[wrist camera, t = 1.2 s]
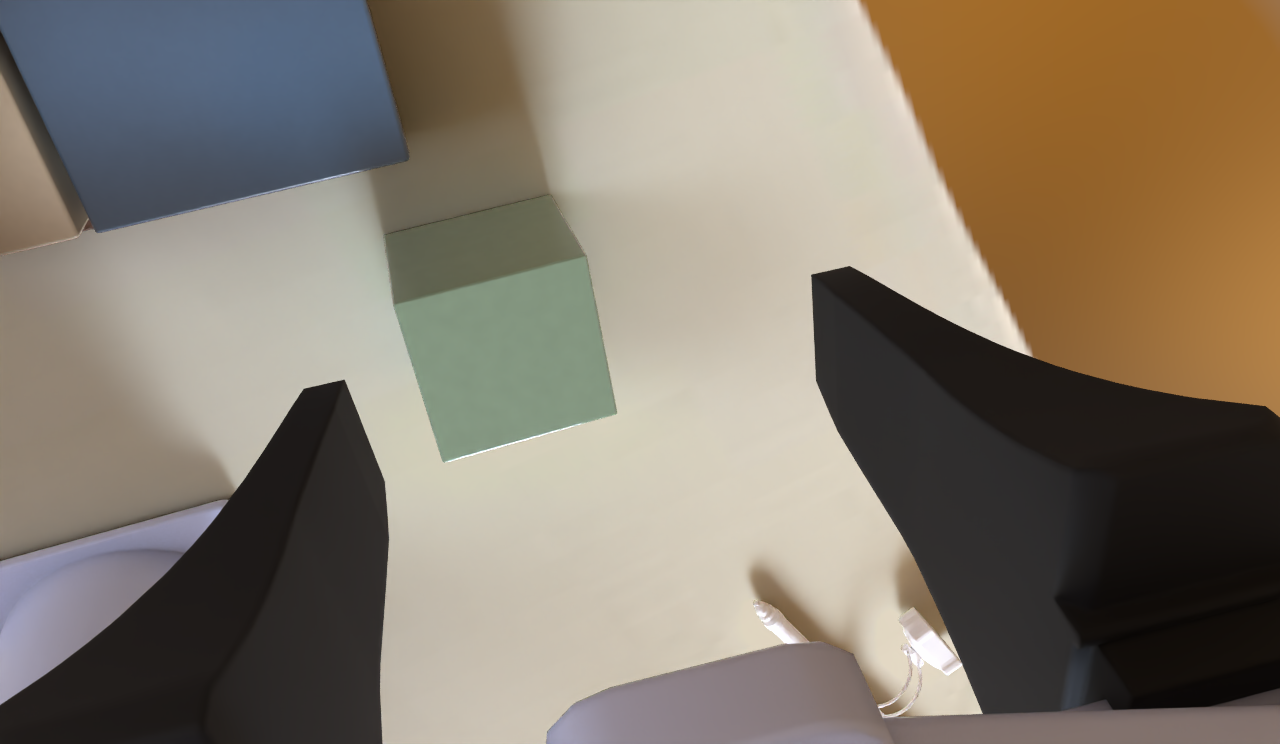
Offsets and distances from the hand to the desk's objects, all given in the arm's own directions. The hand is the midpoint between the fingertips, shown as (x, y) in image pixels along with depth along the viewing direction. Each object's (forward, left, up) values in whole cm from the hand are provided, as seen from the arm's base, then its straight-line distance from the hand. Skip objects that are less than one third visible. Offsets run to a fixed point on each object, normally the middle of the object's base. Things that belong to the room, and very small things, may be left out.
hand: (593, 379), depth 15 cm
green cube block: (-4, +1, -12) cm, 12 cm away
